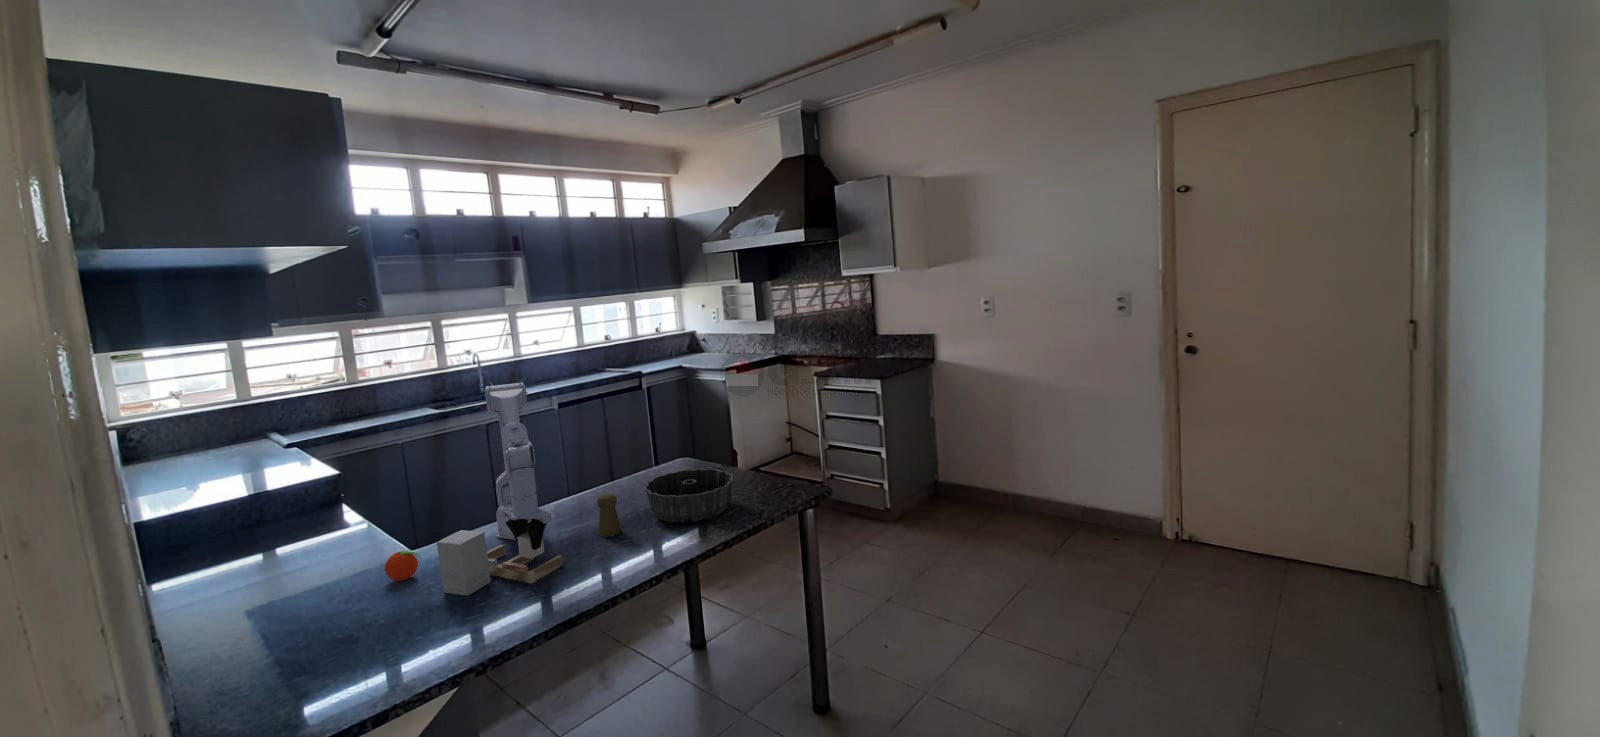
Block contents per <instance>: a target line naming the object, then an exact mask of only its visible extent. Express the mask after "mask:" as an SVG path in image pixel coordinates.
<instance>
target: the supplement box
mask: <svg viewBox="0 0 1600 737" xmlns="http://www.w3.org/2000/svg"><path fill="white" fill-rule="evenodd" d="M486 543H487V542H486V536H485V532H484V531H474V530H473V531H472V530H467V529H466V530H465V529H460V530H459V531H456V532H454V533H452V534H450V535H448V536H446V537H444V538H442V539H440V540H438V541H436V548H437V555H438V561H439V569H440V575H441V576H440V577H441V584H442V590H443V593H444V594H453V595H458V596H459V595H460V596H465V597H469V595H472V594H473V593H475V592H477V591H478V590H480V589H482V588H483V587H485V586H486V585H488V584H490V583H491V575H490V571H489V564H488V557H487V551H488V550H487V544H486Z"/></svg>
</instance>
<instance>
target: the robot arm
mask: <svg viewBox="0 0 1600 737" xmlns="http://www.w3.org/2000/svg"><path fill="white" fill-rule="evenodd" d="M484 395H485V403H486V407H487V408H486V410H487V412H488V413H489V414H490V415H495V416H496V417H497V419H498V421H499V428H500V435H501V436H500V438H501V446H502V453H503V459H504V460H503V461H504V462H503V463H504V471H503V472H502V473H501V474H500V475H499V476H498V477H497V478H496V481H495V484H496V486H495V490H496V496H497V497H496V498H497V505H498V508H497V510H496V512H495V513H496V515H495V516H496V524H497V533H498V534H496V536H495V537H496V538H501V539H506V540H511V541H516V544H517V545H518V538H517V537H518V536H521V535H523V534H524V533H526V532H528V534H529V537H530V542H531V546H532V549H533V550H536V549H538V548H540V547H541V543H542V537H543V535H544V532H545V529H546V526H547V525H548V523H550V522H552V521H553V518H552V513H551V512H547V511H545V510H544V509H542V508H539V504H538V495H537V484H536V476H535V468H536V456H535V450H534V447H533V444H532V442H531V441H530V440H529V434H528V430H527V427H526V425H525V424H523V423H521V420H520V418H521V417H520V411H523V410H525V408H526V406H527V403H528V398H527V396H528V395H527V389H526V385H525V383H524V382H523V381H520V382H514V383H508V384H496V385H486V386H485V388H484Z"/></svg>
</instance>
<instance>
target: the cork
mask: <svg viewBox="0 0 1600 737" xmlns="http://www.w3.org/2000/svg"><path fill="white" fill-rule="evenodd" d="M596 503H597V506H598V508H599V518H598V521H599V522H598V536H599V535H600V537H601V536H603V537H602V538H611V537H615V536H617V535H619V534H621V531H622V530H621V525H620V522H619V517H618V512H617V508H616V504H617V497H616V495H615V494H614V493H605V494H601V495H599V496H598V497H597V499H596ZM614 535H615V536H614ZM608 536H609V537H608ZM610 536H611V537H610Z"/></svg>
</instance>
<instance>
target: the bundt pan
mask: <svg viewBox="0 0 1600 737" xmlns="http://www.w3.org/2000/svg"><path fill="white" fill-rule="evenodd" d="M733 483H734V475H733V474H732V473H728V472H727V471H726V470H720V469H716V468H706V469H705V468H695V469H683V470H681V469H680V470H677V471H673V472H667V473H665V474H663V475H659V476H655V477H653V478H652V479H650V481H647V482H645V486H644V487H643V489H644V492H646V496H647V499H648V503H649V507H650V509H651V511H652V513H653V514H655V516H656V517H657V518H658V519H659V520H661V521H668V522H670V523H678V522H681V523H682V524H686V523H688V522H689V521H690V522H691V523H694V522H701V521H702V520H703V519H704V520H710V519H711V518H712V517H714V516H718V515H720V514H721V513H722V512H723V511H725V510H726V509H727V508H728V507H729V506H730V504H731V501H732V493H733V492H732V490H733Z"/></svg>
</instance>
